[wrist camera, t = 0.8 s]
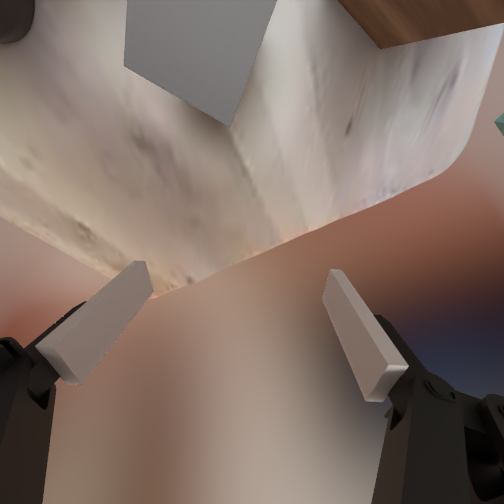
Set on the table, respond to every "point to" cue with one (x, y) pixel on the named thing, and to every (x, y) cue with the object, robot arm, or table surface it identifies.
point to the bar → (500, 123)
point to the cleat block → (197, 48)
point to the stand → (421, 18)
